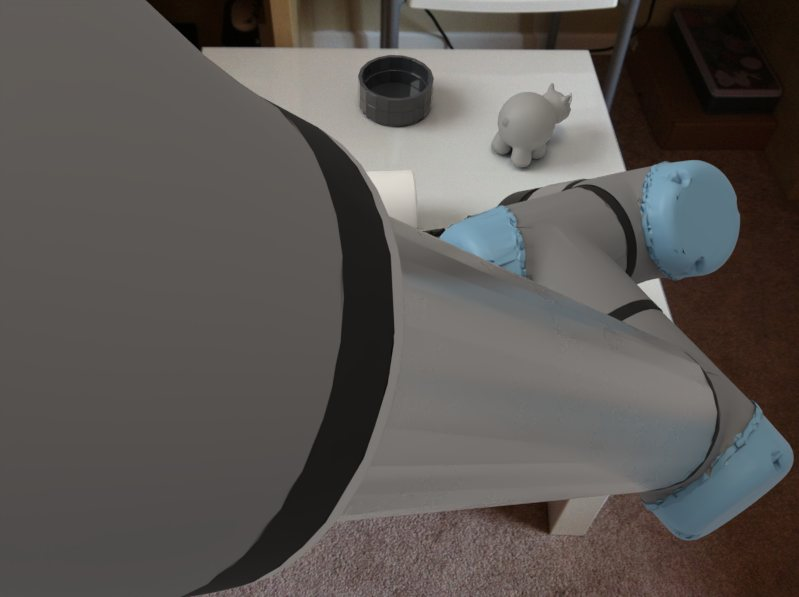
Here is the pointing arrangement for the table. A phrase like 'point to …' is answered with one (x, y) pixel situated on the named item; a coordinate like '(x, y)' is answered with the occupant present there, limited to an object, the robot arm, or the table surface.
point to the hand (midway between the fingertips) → (412, 247)
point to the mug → (397, 194)
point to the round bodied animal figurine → (529, 124)
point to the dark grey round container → (395, 90)
